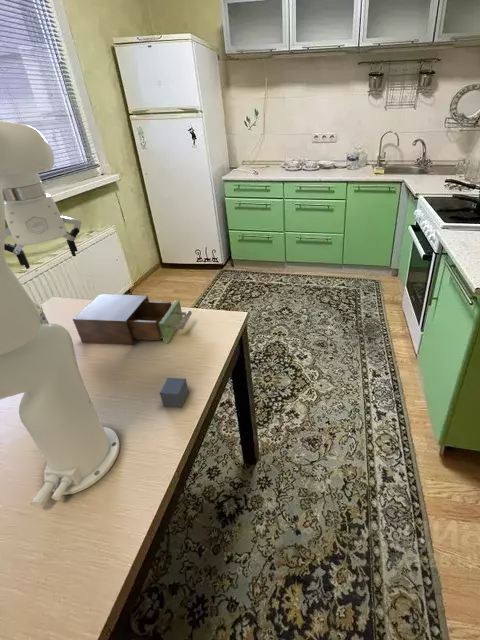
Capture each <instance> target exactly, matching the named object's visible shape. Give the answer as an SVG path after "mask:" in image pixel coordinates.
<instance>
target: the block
mask: <svg viewBox="0 0 480 640" xmlns="http://www.w3.org/2000/svg"><path fill="white" fill-rule="evenodd" d="M189 393H190V390H189V386H188V382H187V378H184V377H183V378H180V377H167V378H166V380H165V382H164V384H163V386H162V388H161V390H160V391H159V396H160V400H161V402H162V406H163V407H168V408H181V409H182V408H183V406H184V404H185V402H186V399H187V397H188V395H189Z"/></svg>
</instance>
